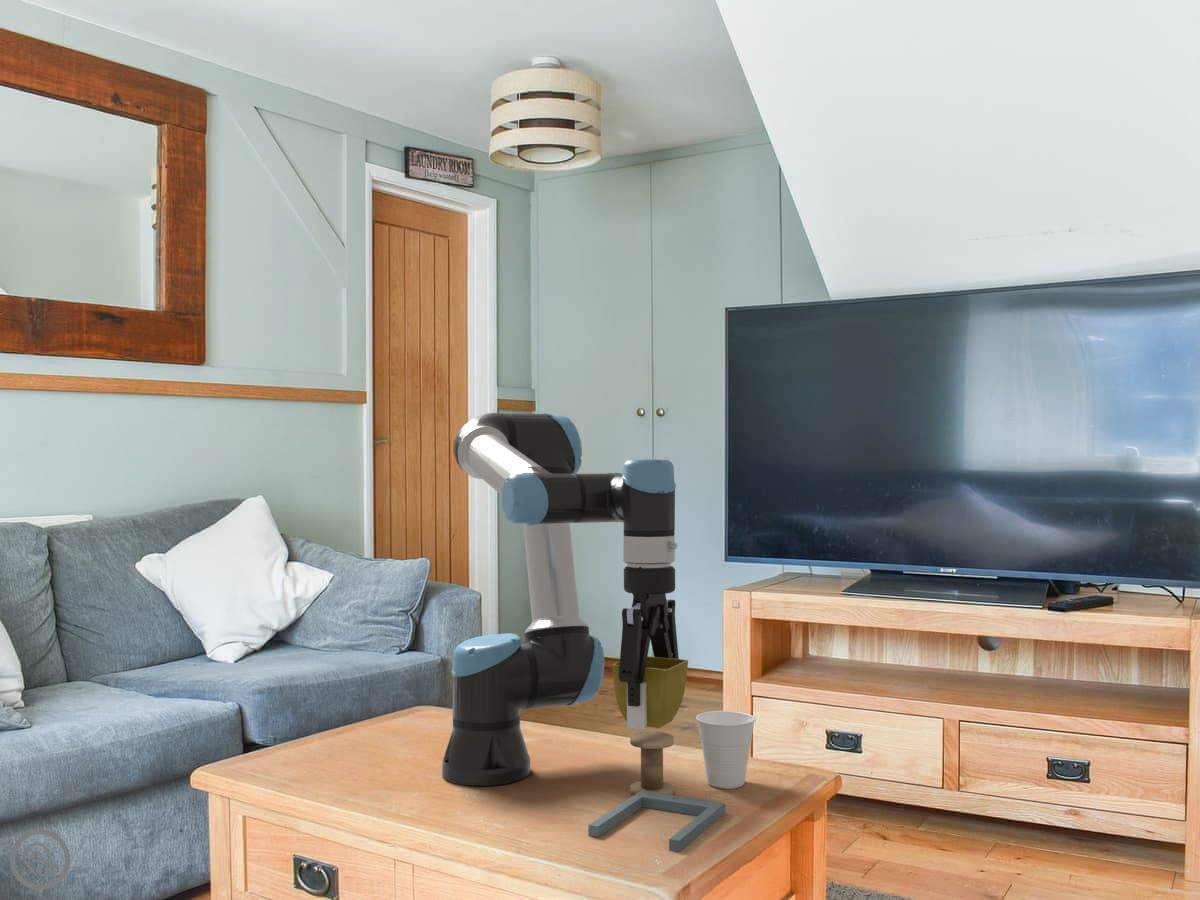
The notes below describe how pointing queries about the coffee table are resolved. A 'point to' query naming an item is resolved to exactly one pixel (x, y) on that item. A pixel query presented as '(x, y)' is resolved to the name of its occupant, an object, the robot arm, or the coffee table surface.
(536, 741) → the coffee table surface
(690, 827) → the blue-grey u-shaped bracket
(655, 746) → the bobbin
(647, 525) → the robot arm
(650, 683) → the flower pot
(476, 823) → the coffee table surface
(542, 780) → the coffee table surface
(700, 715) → the cup
